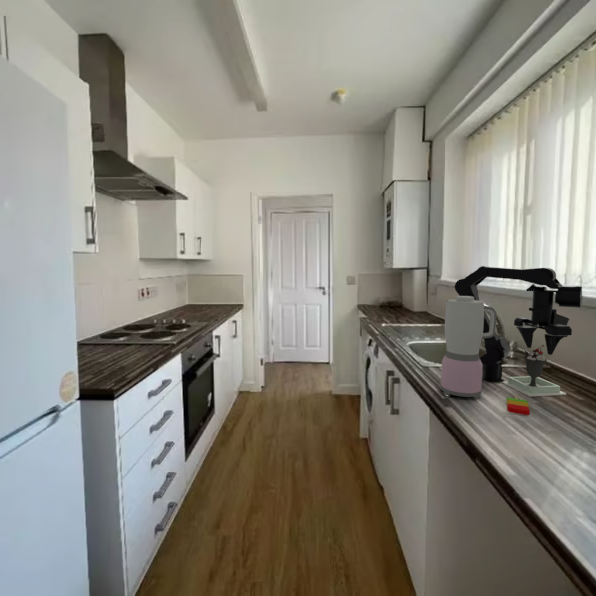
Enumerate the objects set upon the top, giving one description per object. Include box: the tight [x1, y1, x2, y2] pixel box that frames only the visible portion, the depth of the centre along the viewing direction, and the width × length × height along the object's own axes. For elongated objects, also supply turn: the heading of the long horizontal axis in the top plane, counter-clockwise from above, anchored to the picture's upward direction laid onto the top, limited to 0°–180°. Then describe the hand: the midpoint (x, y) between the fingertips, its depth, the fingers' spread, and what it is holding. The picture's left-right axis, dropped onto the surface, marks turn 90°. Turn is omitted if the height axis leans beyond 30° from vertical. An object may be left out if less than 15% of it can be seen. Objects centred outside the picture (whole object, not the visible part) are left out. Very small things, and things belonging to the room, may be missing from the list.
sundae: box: [522, 344, 548, 387], centre depth 122 cm, size 7×7×15 cm
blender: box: [439, 295, 497, 401], centre depth 116 cm, size 16×12×32 cm
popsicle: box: [506, 394, 531, 416], centre depth 109 cm, size 6×15×2 cm, turn 151°
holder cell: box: [501, 375, 567, 397], centre depth 123 cm, size 13×13×2 cm
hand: (539, 351), depth 122 cm, fingers open, 9 cm apart
